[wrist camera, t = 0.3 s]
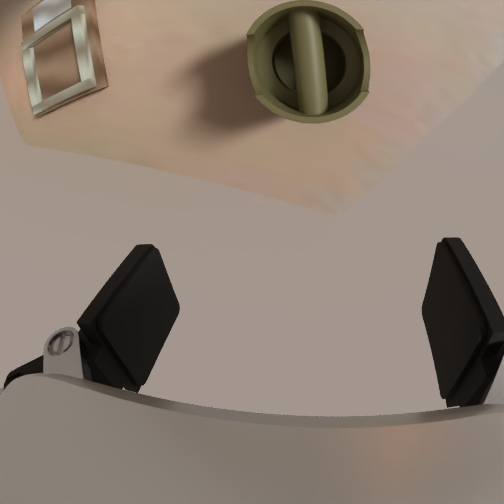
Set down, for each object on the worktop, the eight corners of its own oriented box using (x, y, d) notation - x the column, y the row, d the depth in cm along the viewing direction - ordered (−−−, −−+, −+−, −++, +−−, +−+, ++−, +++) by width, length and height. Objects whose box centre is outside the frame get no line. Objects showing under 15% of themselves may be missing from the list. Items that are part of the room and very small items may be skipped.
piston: (368, 0, 17) (378, 123, 23) (351, 20, 26) (359, 106, 33) (232, 8, 19) (249, 127, 25) (257, 25, 29) (268, 109, 35)
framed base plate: (27, 15, 28) (15, 16, 26) (92, -29, 24) (79, -31, 22) (43, 114, 40) (31, 119, 37) (108, 86, 36) (96, 88, 33)
